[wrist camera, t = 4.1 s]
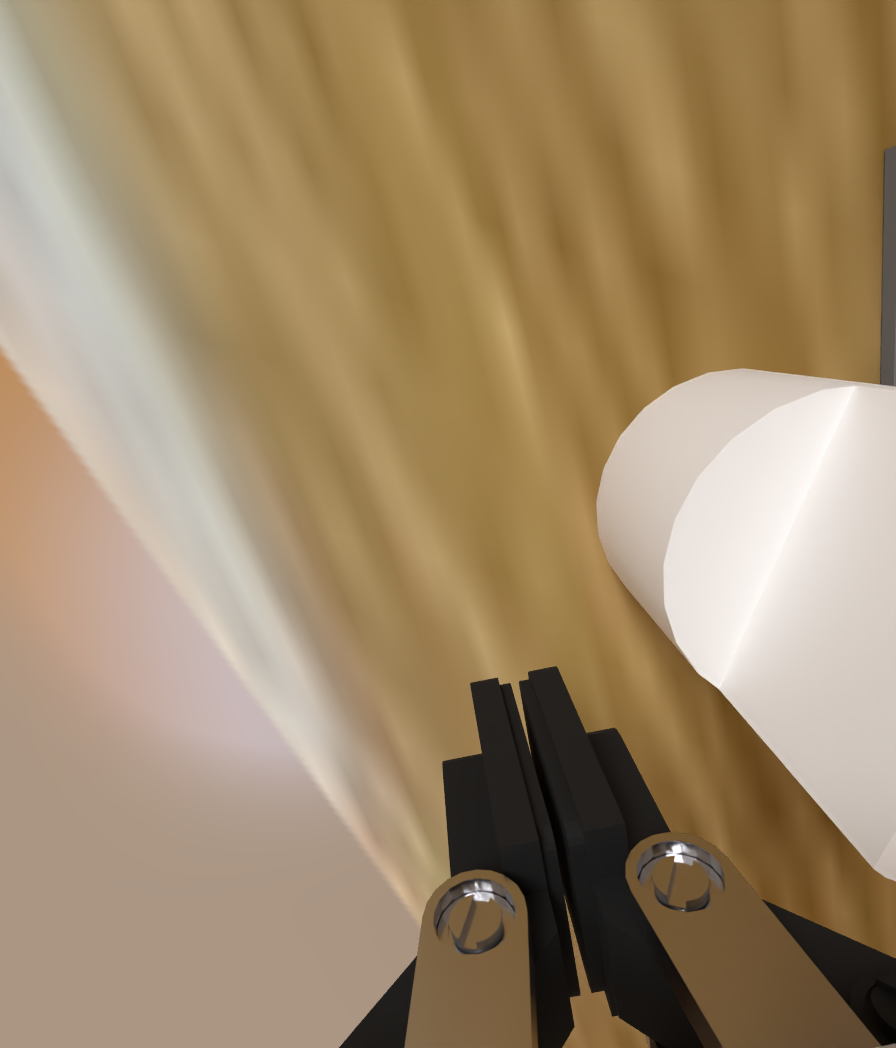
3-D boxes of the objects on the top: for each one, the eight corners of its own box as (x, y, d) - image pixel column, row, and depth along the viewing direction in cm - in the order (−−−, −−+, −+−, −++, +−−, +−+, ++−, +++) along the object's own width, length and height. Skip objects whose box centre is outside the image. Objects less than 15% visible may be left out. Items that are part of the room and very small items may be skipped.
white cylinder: (784, 641, 24) (1133, 931, 12) (561, 587, 23) (717, 853, 11) (894, 409, 21) (1454, 503, 10) (650, 335, 20) (968, 343, 9)
